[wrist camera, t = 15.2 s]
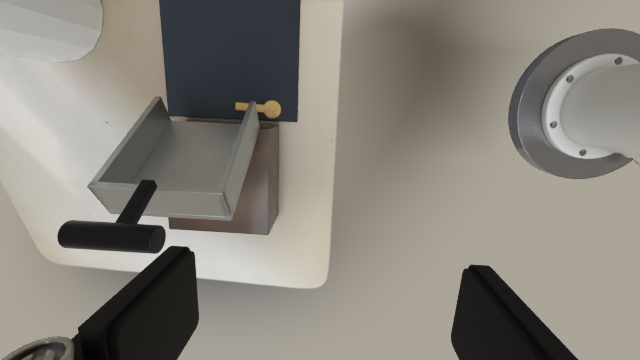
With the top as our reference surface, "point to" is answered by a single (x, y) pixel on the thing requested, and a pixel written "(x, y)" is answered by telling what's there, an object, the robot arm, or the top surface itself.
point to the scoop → (166, 179)
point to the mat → (230, 56)
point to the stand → (249, 191)
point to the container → (50, 28)
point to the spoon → (263, 108)
